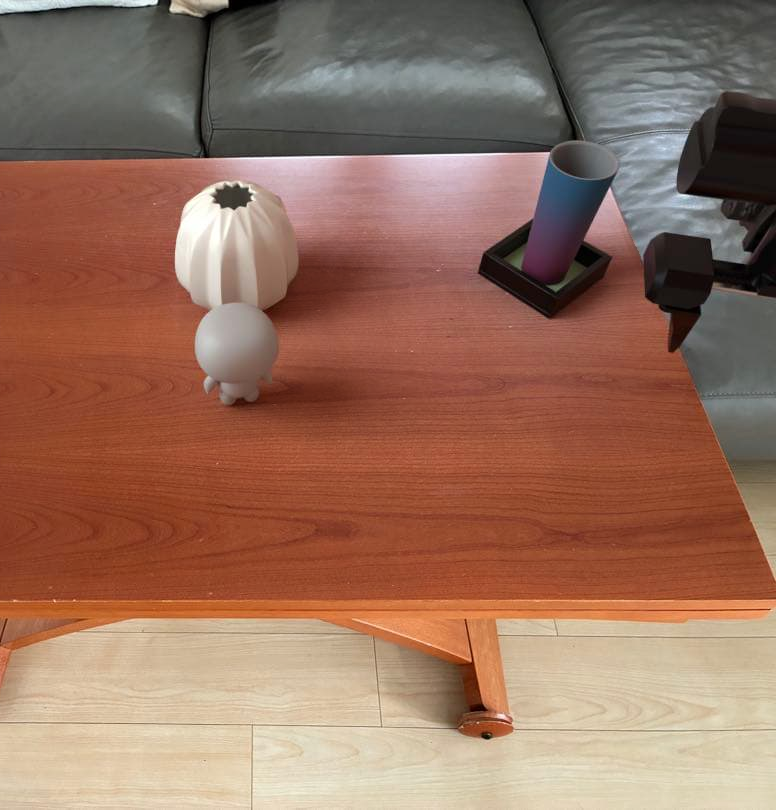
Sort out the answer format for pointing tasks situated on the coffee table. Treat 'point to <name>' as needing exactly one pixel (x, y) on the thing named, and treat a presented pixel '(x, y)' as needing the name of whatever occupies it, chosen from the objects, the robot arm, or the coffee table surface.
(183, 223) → the vase
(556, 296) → the tray
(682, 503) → the coffee table surface
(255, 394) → the figurine
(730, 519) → the coffee table surface
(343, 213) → the coffee table surface
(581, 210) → the cup
